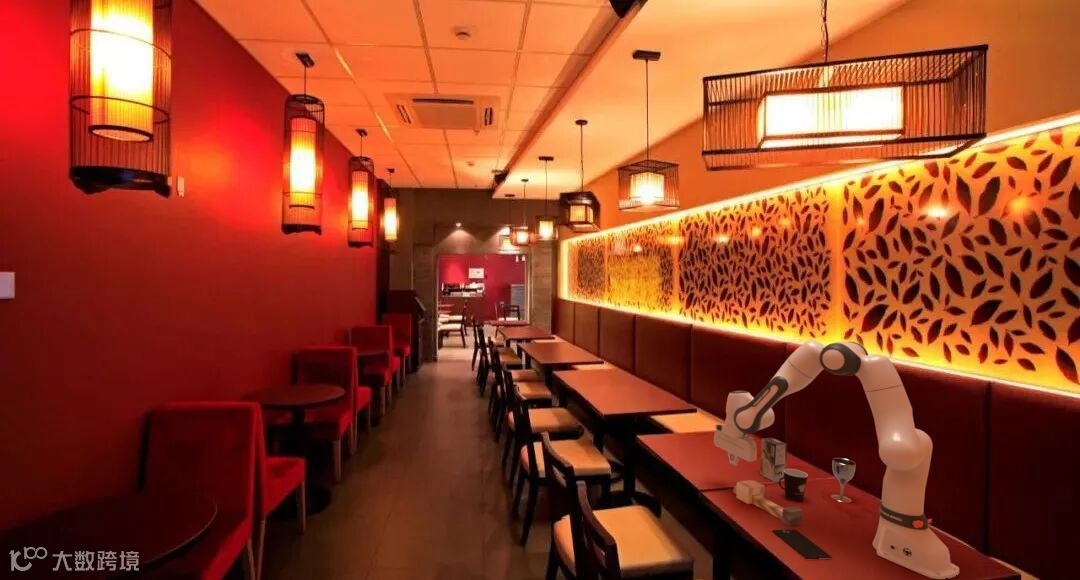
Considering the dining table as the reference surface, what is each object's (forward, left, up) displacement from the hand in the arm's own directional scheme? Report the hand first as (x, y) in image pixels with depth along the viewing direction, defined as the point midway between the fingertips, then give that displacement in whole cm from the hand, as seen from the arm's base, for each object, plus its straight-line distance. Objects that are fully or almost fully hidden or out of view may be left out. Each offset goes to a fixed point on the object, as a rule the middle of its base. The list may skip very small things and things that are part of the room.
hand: (733, 464), depth 211 cm
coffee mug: (-12, -18, -11) cm, 24 cm away
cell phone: (-41, +10, -11) cm, 43 cm away
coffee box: (+6, -28, -11) cm, 31 cm away
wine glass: (-19, -38, -11) cm, 44 cm away
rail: (-16, 0, -11) cm, 20 cm away
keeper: (-9, 0, -11) cm, 14 cm away
